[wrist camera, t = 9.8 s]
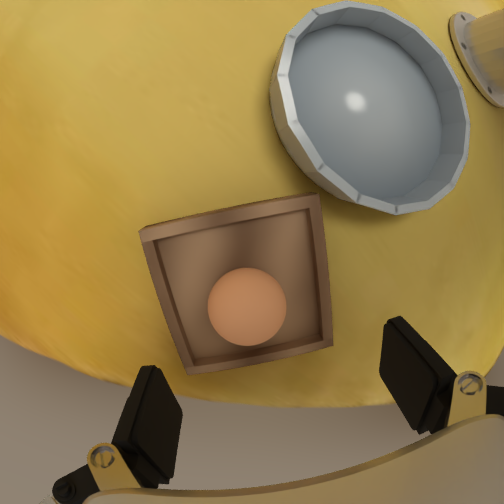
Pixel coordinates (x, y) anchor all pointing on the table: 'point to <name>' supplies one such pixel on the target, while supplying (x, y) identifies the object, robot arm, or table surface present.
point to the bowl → (370, 108)
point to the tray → (234, 257)
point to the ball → (247, 306)
